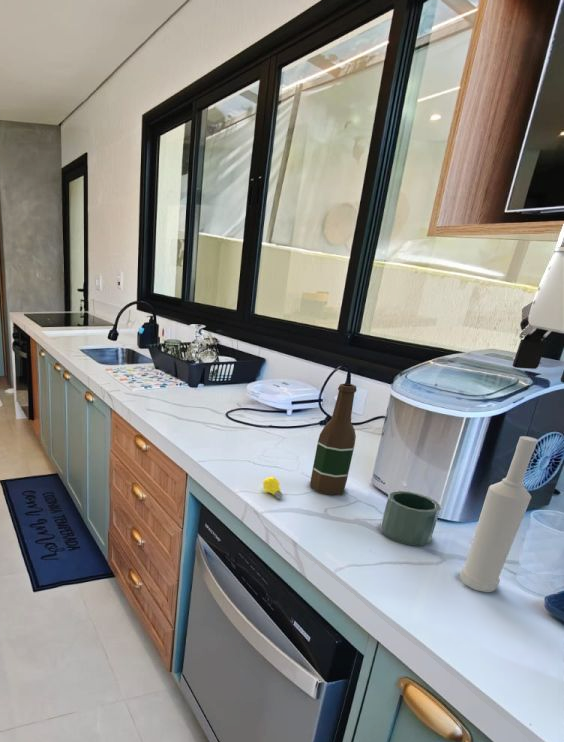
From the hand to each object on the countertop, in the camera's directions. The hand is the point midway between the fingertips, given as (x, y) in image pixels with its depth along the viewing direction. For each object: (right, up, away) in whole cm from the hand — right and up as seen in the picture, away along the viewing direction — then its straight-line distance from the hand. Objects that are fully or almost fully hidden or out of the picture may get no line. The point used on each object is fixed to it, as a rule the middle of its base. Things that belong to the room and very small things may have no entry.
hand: (547, 375), depth 69 cm
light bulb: (-25, -20, +41) cm, 52 cm away
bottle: (-1, -32, +13) cm, 34 cm away
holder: (-4, -26, +27) cm, 38 cm away
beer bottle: (-11, -19, +45) cm, 50 cm away
